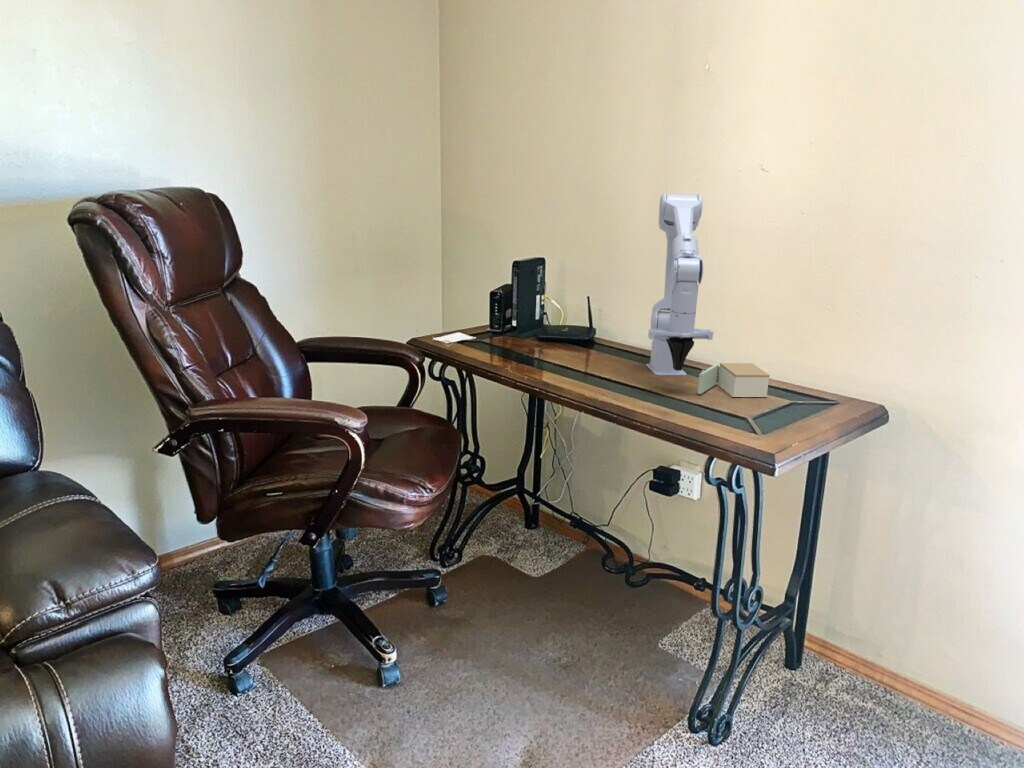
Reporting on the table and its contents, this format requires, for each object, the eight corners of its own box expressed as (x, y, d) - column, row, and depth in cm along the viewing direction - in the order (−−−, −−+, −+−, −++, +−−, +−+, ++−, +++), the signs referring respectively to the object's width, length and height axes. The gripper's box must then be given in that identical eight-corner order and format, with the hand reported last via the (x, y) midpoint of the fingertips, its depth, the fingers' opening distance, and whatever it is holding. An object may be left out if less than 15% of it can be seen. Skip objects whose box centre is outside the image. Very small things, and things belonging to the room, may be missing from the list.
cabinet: (717, 385, 190) (720, 363, 189) (749, 385, 191) (752, 363, 190) (733, 398, 181) (735, 375, 179) (766, 398, 182) (769, 375, 180)
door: (713, 382, 191) (715, 363, 189) (717, 383, 190) (719, 364, 189) (696, 393, 182) (699, 373, 181) (701, 394, 181) (703, 374, 180)
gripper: (656, 314, 173) (651, 374, 177) (720, 315, 174) (713, 374, 178) (647, 308, 180) (643, 365, 183) (709, 308, 181) (703, 365, 185)
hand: (677, 369), depth 181 cm, fingers closed
